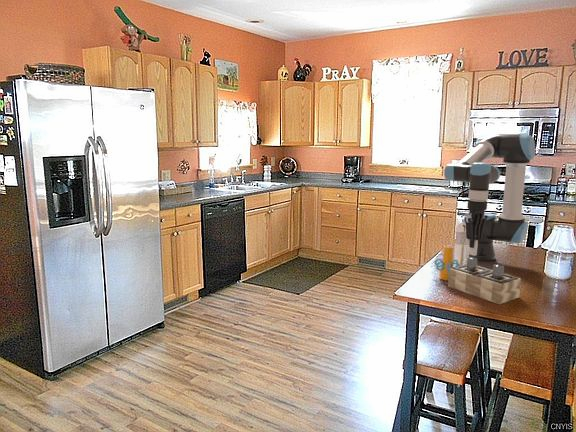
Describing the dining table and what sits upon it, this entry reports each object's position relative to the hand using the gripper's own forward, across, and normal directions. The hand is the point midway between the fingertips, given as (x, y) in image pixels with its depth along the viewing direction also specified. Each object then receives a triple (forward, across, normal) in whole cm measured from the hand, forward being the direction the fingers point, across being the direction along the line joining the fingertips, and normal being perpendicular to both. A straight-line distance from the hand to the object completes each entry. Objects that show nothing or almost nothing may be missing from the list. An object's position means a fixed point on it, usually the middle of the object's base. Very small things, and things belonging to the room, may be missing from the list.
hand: (472, 254), depth 193 cm
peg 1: (+10, 0, 0) cm, 10 cm away
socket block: (+15, 0, +6) cm, 16 cm away
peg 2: (+10, 0, +12) cm, 15 cm away
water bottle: (+15, -18, -18) cm, 30 cm away
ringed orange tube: (+15, -1, -13) cm, 20 cm away
